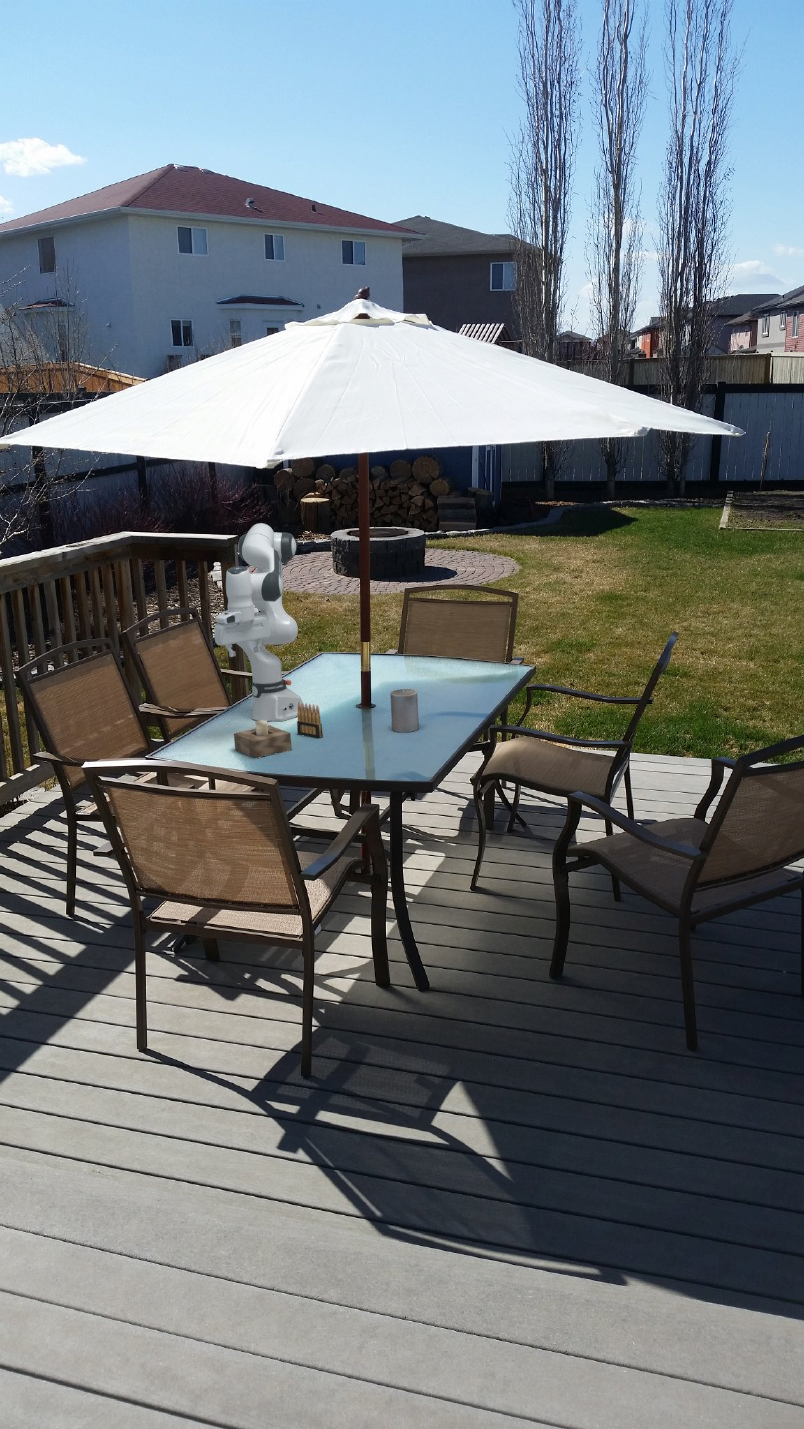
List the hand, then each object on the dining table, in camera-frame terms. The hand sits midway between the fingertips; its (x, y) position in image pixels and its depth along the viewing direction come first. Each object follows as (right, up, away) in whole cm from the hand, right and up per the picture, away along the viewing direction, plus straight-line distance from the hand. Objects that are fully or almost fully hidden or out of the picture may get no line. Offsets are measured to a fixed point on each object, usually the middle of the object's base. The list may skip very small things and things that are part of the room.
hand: (244, 654), depth 368 cm
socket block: (+7, -33, -4) cm, 34 cm away
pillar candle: (+56, -26, +14) cm, 63 cm away
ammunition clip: (+22, -29, +11) cm, 38 cm away
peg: (+7, -33, -4) cm, 34 cm away
